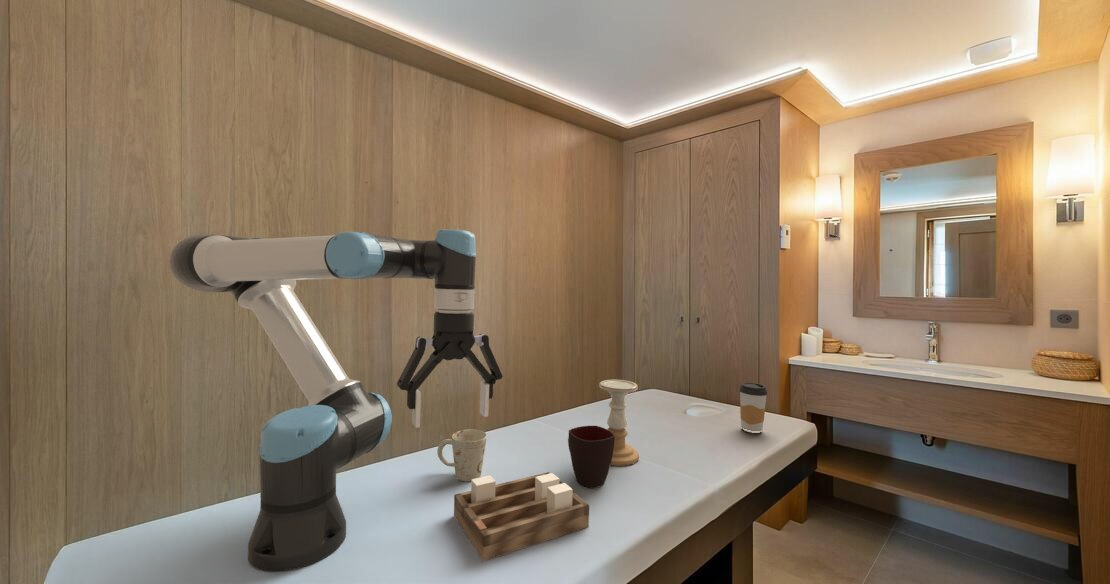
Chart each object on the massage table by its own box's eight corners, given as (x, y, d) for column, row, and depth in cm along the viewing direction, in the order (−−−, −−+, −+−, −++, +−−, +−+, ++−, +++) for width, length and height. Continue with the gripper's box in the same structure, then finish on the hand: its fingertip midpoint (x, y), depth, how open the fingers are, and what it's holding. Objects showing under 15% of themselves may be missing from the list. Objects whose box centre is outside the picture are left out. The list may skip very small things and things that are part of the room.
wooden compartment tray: (483, 561, 75) (483, 534, 75) (453, 515, 89) (454, 493, 89) (588, 526, 86) (589, 503, 86) (548, 491, 100) (548, 470, 100)
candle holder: (590, 463, 116) (592, 387, 115) (597, 445, 128) (599, 377, 127) (637, 469, 113) (640, 391, 112) (640, 450, 125) (642, 380, 124)
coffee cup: (767, 429, 145) (769, 384, 145) (763, 437, 138) (765, 390, 138) (740, 424, 150) (741, 381, 149) (735, 431, 143) (737, 385, 142)
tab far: (476, 510, 86) (476, 485, 86) (470, 503, 89) (471, 479, 89) (495, 505, 89) (495, 481, 88) (489, 498, 91) (489, 475, 91)
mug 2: (583, 496, 98) (584, 443, 98) (554, 471, 110) (555, 424, 110) (619, 487, 103) (620, 436, 102) (587, 464, 115) (588, 418, 115)
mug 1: (478, 485, 102) (479, 443, 101) (428, 479, 104) (428, 438, 104) (490, 470, 110) (491, 431, 110) (443, 464, 112) (444, 426, 112)
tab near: (554, 519, 84) (555, 494, 84) (546, 512, 87) (547, 487, 86) (571, 514, 86) (572, 489, 86) (563, 507, 89) (564, 482, 88)
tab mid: (541, 507, 88) (542, 483, 88) (534, 500, 91) (535, 476, 91) (558, 502, 90) (559, 478, 90) (551, 496, 93) (552, 472, 93)
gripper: (391, 314, 75) (388, 437, 75) (520, 311, 88) (517, 416, 89) (381, 310, 81) (379, 423, 82) (504, 308, 94) (501, 406, 95)
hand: (451, 420), depth 85 cm, fingers open, 13 cm apart
